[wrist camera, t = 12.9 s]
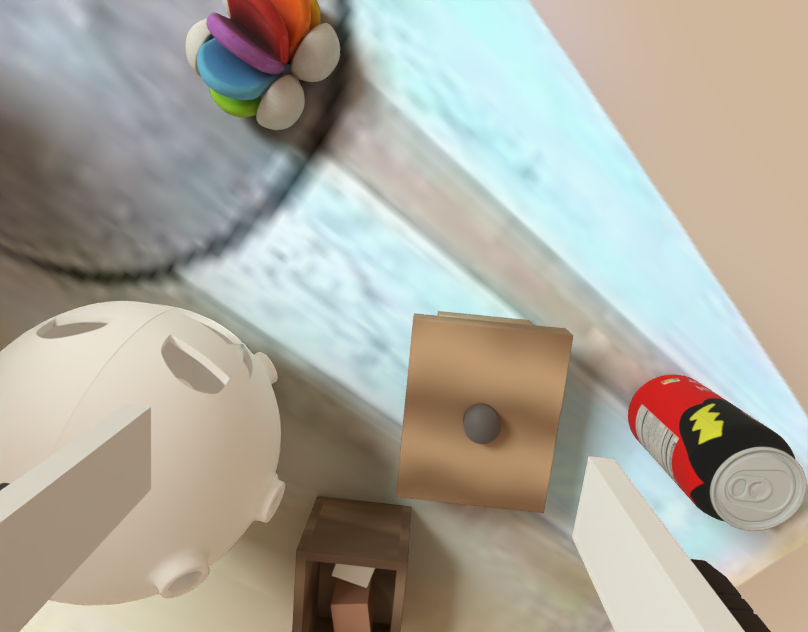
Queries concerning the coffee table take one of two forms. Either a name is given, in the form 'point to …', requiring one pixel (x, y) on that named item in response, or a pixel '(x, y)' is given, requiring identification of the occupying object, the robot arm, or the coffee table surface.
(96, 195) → the coffee table surface
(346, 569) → the cream cube
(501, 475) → the lid
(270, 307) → the coffee table surface
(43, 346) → the decorative ball
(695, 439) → the beverage can
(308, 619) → the box
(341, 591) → the terracotta cube
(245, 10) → the rainbow disc baby toy
